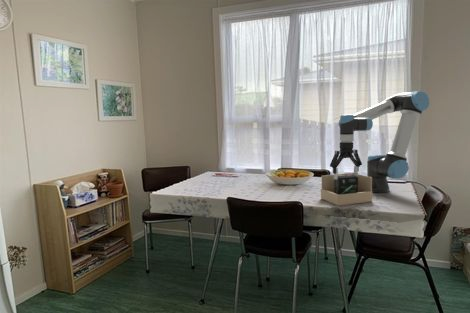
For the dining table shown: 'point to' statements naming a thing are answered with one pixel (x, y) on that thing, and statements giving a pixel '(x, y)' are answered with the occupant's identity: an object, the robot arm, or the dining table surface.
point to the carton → (346, 199)
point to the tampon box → (346, 184)
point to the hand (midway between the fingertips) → (345, 178)
